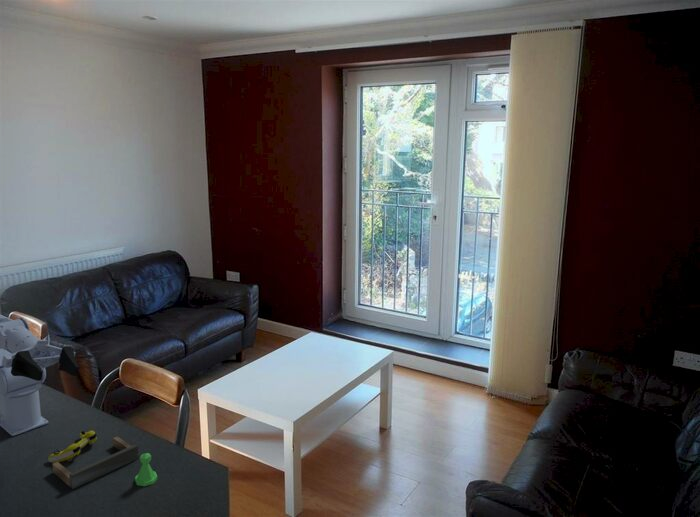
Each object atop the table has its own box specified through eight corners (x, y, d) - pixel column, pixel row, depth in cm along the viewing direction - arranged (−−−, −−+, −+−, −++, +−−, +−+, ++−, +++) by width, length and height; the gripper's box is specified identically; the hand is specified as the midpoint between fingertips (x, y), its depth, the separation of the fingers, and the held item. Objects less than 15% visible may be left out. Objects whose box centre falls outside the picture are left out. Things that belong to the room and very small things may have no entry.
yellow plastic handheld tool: (75, 463, 111) (68, 448, 110) (52, 469, 112) (45, 454, 112) (105, 438, 120) (100, 425, 120) (84, 444, 122) (78, 431, 122)
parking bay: (53, 472, 109) (51, 459, 108) (117, 444, 120) (116, 432, 119) (72, 489, 104) (71, 475, 103) (138, 458, 115) (137, 446, 114)
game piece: (137, 474, 109) (136, 448, 108) (159, 472, 110) (158, 446, 109) (132, 487, 105) (131, 460, 104) (155, 485, 106) (154, 458, 105)
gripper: (-3, 334, 112) (27, 359, 105) (64, 330, 124) (95, 352, 117) (-10, 364, 113) (19, 392, 105) (58, 357, 125) (88, 382, 118)
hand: (59, 373), depth 111 cm, fingers open, 7 cm apart
